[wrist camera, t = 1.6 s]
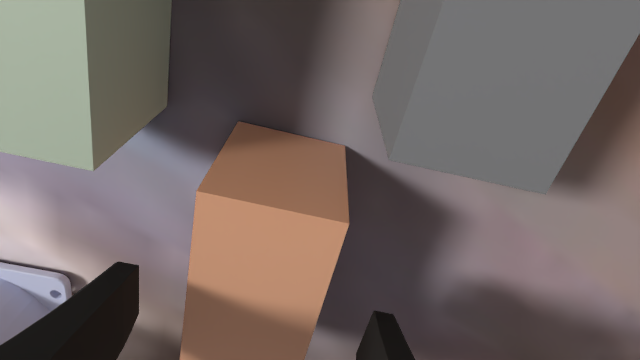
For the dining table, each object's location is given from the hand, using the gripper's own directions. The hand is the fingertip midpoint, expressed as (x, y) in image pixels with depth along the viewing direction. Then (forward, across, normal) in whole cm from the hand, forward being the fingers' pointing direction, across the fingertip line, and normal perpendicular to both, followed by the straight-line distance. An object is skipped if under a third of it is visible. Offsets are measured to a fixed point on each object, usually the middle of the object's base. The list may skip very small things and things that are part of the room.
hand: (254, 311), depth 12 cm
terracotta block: (+5, 0, 0) cm, 5 cm away
